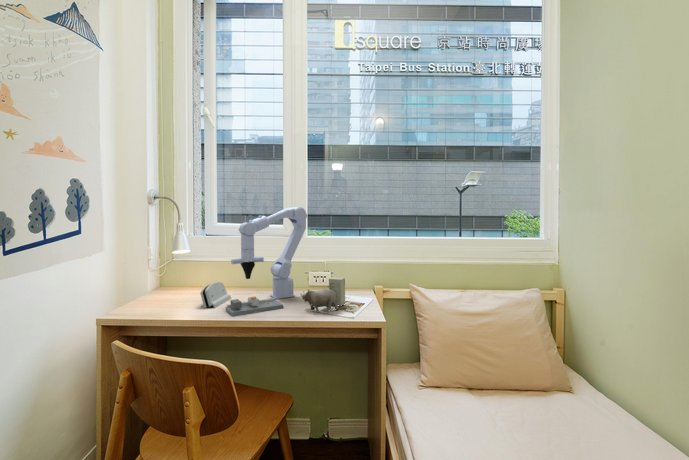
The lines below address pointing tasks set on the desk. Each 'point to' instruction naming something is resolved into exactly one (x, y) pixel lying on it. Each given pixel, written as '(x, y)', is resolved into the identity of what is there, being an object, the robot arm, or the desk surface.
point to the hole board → (245, 308)
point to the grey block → (253, 301)
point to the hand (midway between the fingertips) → (247, 278)
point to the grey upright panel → (214, 295)
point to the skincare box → (338, 289)
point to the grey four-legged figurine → (321, 299)
